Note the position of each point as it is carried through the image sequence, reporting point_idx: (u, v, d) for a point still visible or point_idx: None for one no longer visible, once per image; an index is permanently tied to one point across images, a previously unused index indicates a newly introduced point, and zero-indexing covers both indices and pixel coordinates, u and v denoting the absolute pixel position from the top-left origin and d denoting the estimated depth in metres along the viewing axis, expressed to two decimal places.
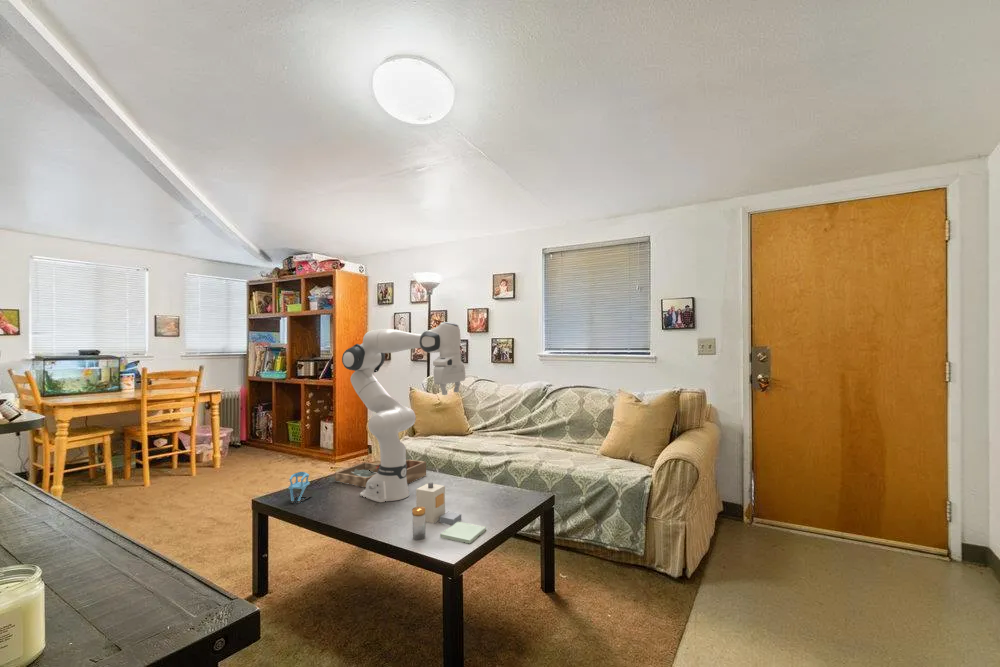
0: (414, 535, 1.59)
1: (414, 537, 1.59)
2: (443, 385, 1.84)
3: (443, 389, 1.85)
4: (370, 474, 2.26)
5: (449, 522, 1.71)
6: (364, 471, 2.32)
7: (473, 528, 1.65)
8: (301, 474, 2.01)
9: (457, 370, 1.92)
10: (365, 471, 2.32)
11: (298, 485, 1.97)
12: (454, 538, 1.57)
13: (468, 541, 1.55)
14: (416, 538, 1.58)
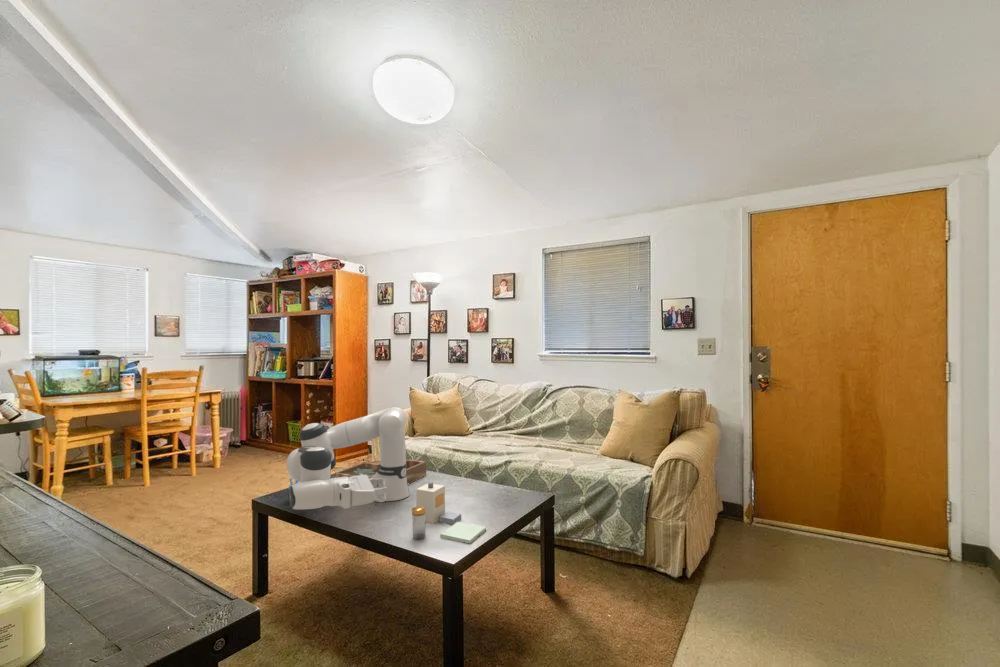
0: (414, 535, 1.59)
1: (414, 537, 1.59)
2: (375, 491, 1.48)
3: (380, 491, 1.50)
4: (372, 473, 2.27)
5: (449, 522, 1.71)
6: (366, 470, 2.33)
7: (473, 528, 1.65)
8: None
9: (354, 482, 1.55)
10: (367, 470, 2.33)
11: None
12: (454, 538, 1.57)
13: (468, 541, 1.55)
14: (416, 538, 1.58)
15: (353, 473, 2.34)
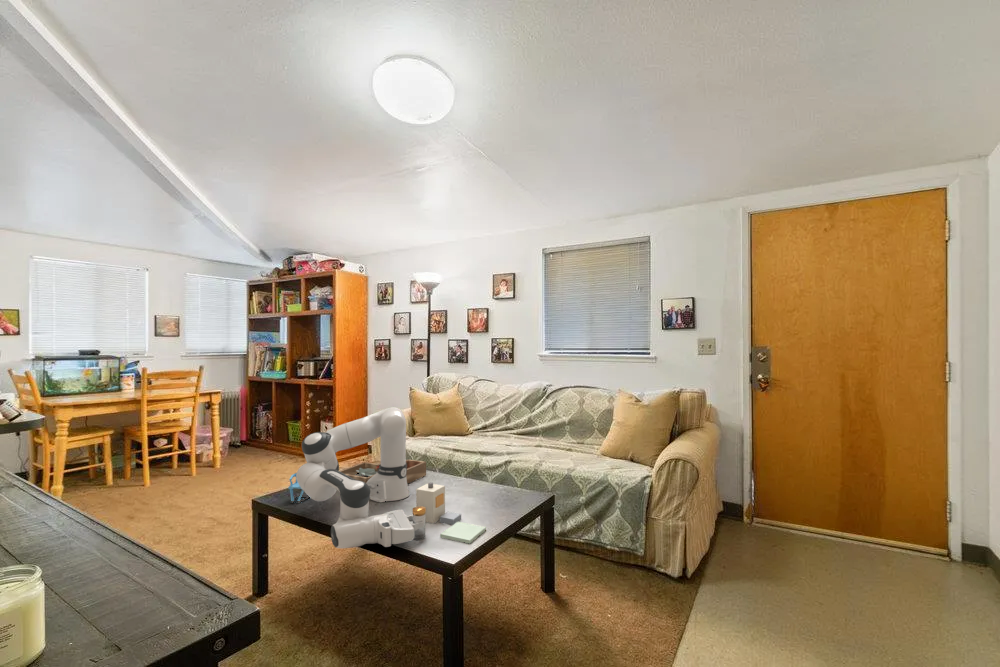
0: (415, 535, 1.59)
1: (414, 537, 1.59)
2: (413, 526, 1.55)
3: (417, 526, 1.56)
4: (374, 473, 2.28)
5: (449, 522, 1.71)
6: (369, 470, 2.34)
7: (473, 528, 1.65)
8: None
9: (392, 518, 1.60)
10: (370, 470, 2.34)
11: (298, 485, 1.97)
12: (454, 538, 1.57)
13: (468, 541, 1.55)
14: (416, 538, 1.58)
15: (353, 473, 2.34)
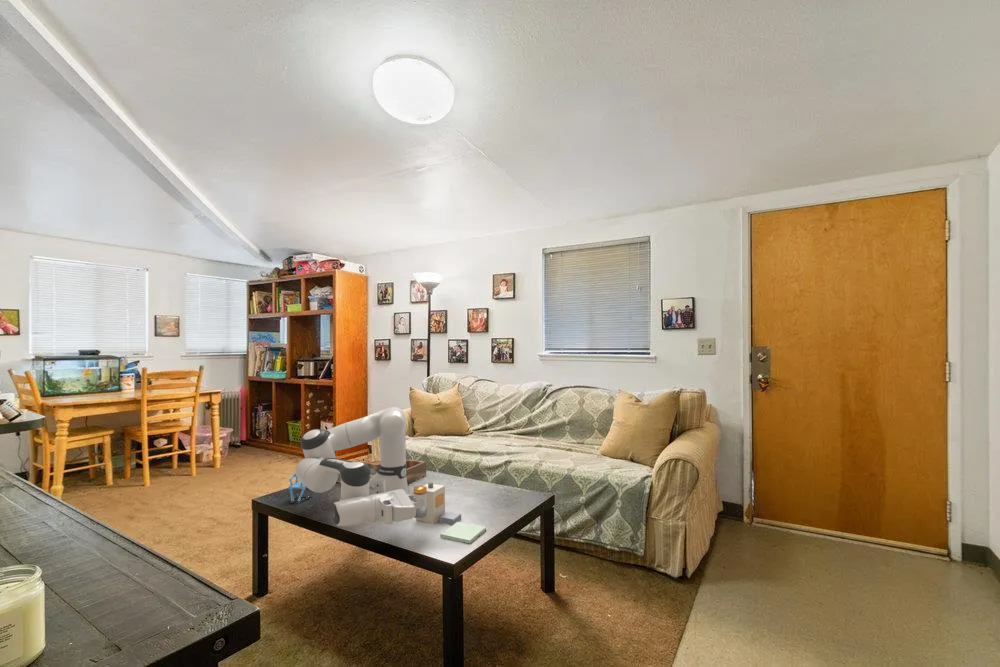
0: (416, 514, 1.58)
1: (415, 516, 1.59)
2: (414, 504, 1.55)
3: (418, 504, 1.56)
4: (375, 473, 2.28)
5: (449, 522, 1.71)
6: None
7: (473, 528, 1.65)
8: None
9: (393, 497, 1.59)
10: None
11: (298, 485, 1.97)
12: (454, 538, 1.57)
13: (468, 541, 1.55)
14: (418, 517, 1.58)
15: None
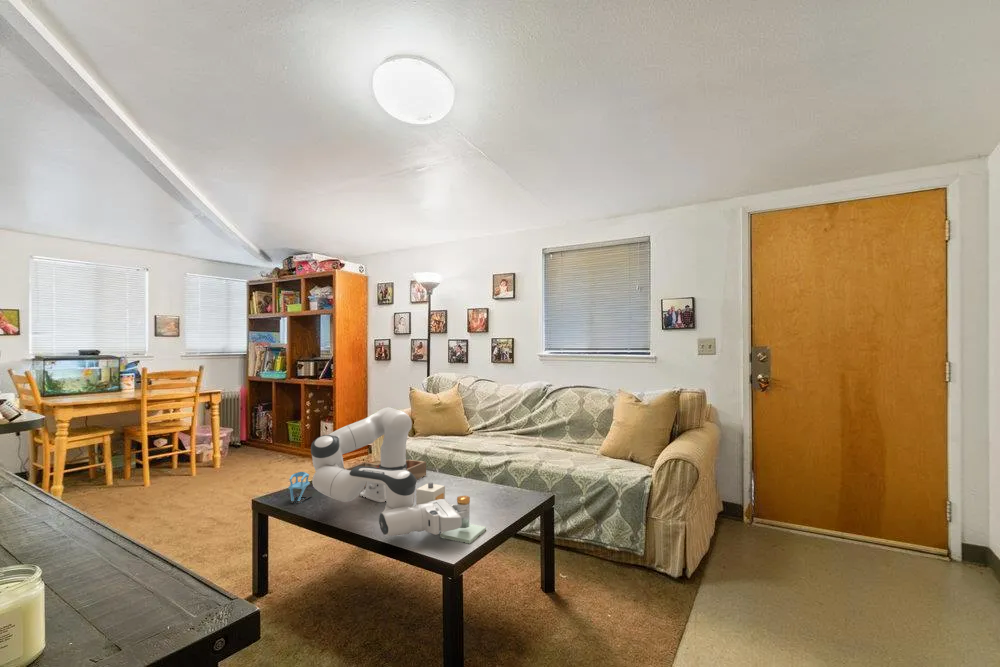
0: None
1: None
2: (459, 514, 1.57)
3: (463, 514, 1.59)
4: None
5: None
6: None
7: (473, 528, 1.65)
8: (301, 474, 2.01)
9: None
10: None
11: (298, 485, 1.97)
12: (454, 538, 1.57)
13: (468, 541, 1.55)
14: (461, 526, 1.61)
15: None
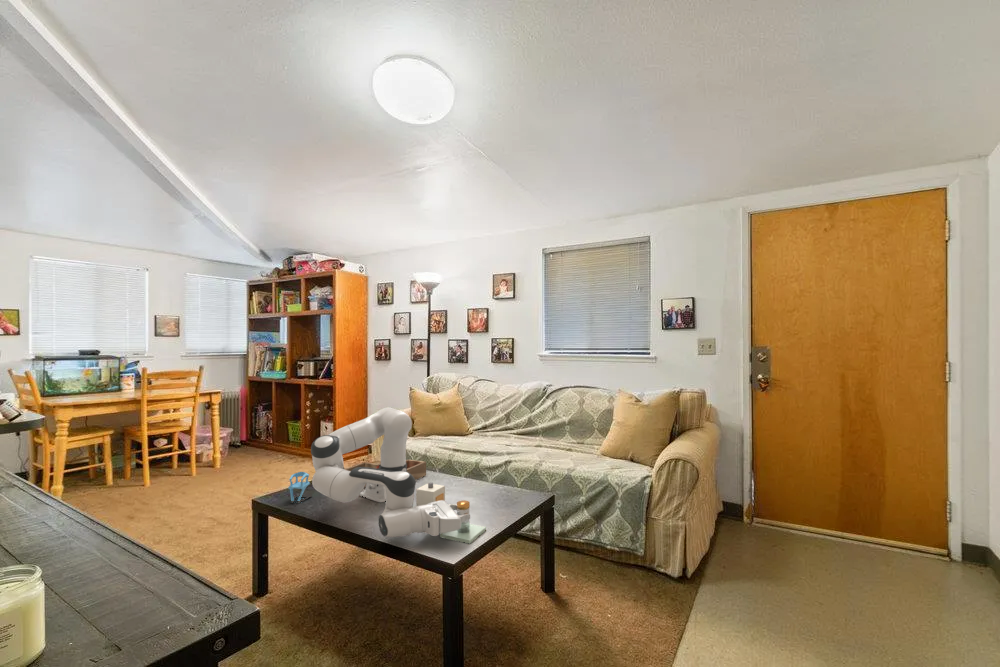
0: (460, 529, 1.61)
1: (459, 530, 1.61)
2: (460, 518, 1.56)
3: (464, 517, 1.57)
4: None
5: None
6: None
7: (473, 528, 1.65)
8: (301, 474, 2.01)
9: (436, 508, 1.62)
10: None
11: (298, 485, 1.97)
12: (454, 538, 1.57)
13: (468, 541, 1.55)
14: (461, 531, 1.61)
15: None
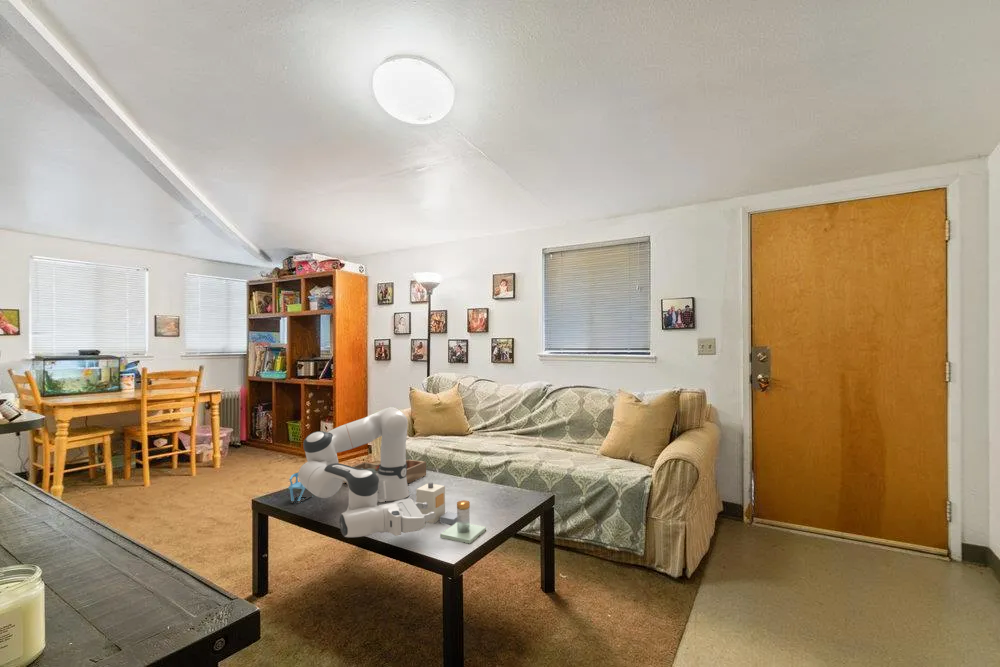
0: (460, 529, 1.61)
1: (459, 530, 1.61)
2: (424, 516, 1.50)
3: (429, 516, 1.51)
4: None
5: (449, 522, 1.71)
6: None
7: (473, 528, 1.65)
8: None
9: (401, 507, 1.56)
10: (371, 470, 2.34)
11: (298, 485, 1.97)
12: (454, 538, 1.57)
13: (468, 541, 1.55)
14: (461, 531, 1.61)
15: None
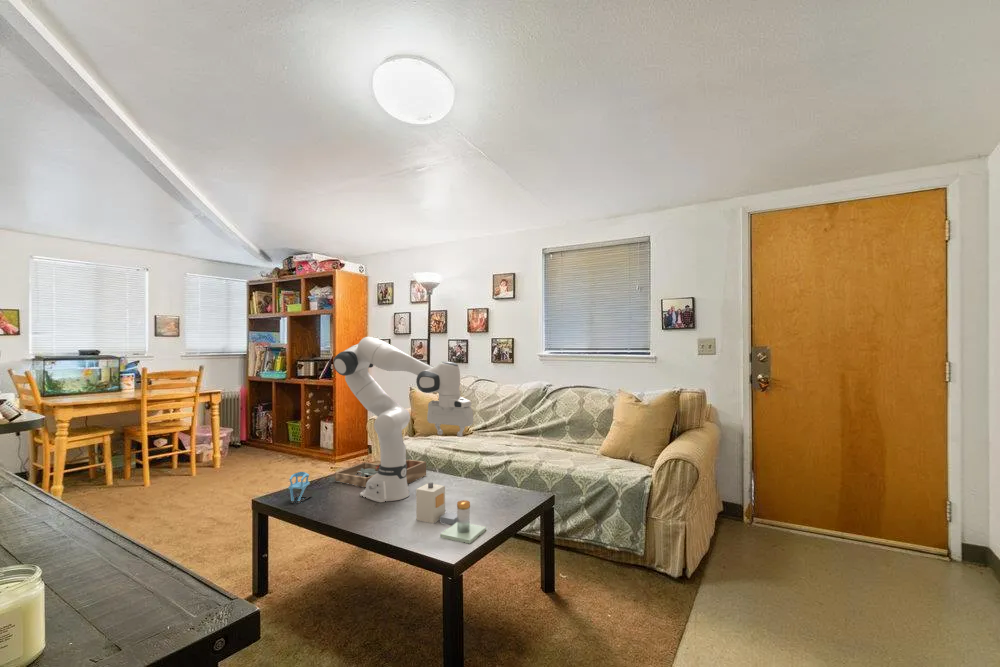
0: (460, 529, 1.61)
1: (459, 530, 1.61)
2: (464, 426, 1.81)
3: (462, 431, 1.81)
4: None
5: (450, 522, 1.71)
6: (370, 470, 2.34)
7: (473, 528, 1.65)
8: (301, 474, 2.01)
9: None
10: (371, 470, 2.34)
11: (298, 485, 1.97)
12: (454, 538, 1.57)
13: (468, 541, 1.55)
14: (461, 531, 1.61)
15: (353, 473, 2.34)
